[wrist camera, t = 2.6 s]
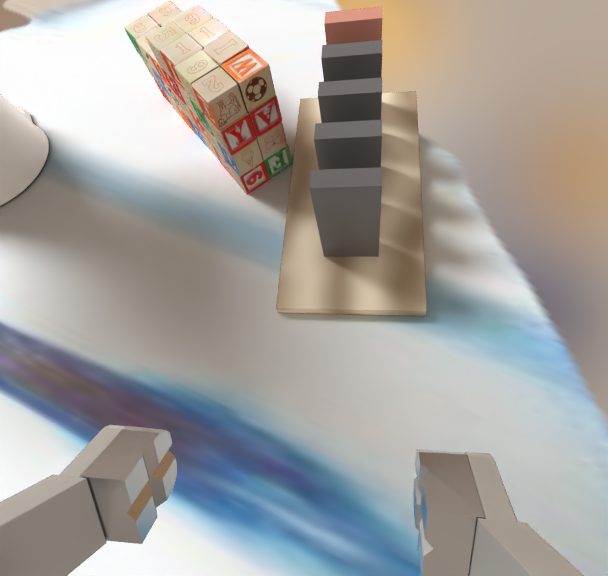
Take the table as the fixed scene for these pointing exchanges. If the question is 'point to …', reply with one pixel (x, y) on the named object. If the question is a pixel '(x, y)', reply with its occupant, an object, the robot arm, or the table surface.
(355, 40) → the domino
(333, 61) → the domino
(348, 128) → the domino
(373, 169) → the domino
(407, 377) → the table surface
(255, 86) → the stack of blocks
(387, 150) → the domino board
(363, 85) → the domino
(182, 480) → the table surface
